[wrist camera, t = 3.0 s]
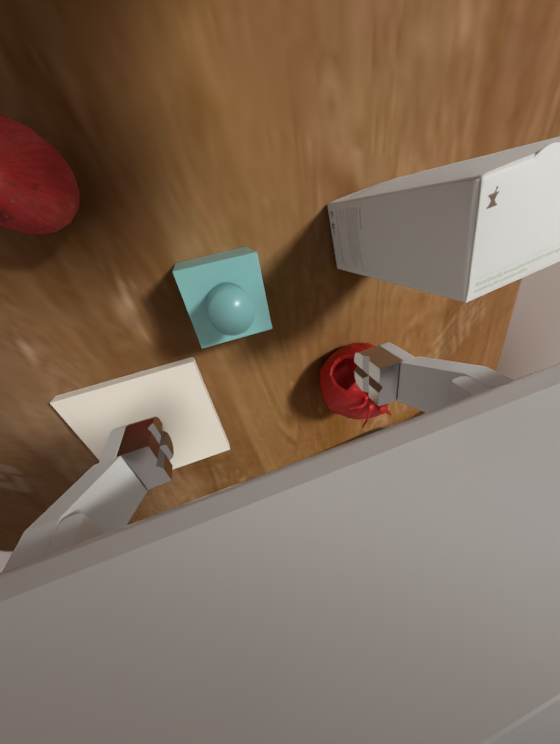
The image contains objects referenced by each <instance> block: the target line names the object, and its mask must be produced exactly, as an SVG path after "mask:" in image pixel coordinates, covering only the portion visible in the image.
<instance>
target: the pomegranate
mask: <svg viewBox="0 0 560 744" xmlns="http://www.w3.org/2000/svg"><path fill="white" fill-rule="evenodd" d="M373 347H376V346H373V345H371V344H368V343H352V344H349V345H346V346H344V347H342V348H340V349H338V350H337V351H335V352H334V353H333V354H331V355H330V356H329V357H328V359H327V360H326V361H325V363H324V364H323V366H322V368H321V370H320V374H319V376H320V389H321V392H322V397H323V400H324V402H325V403H326V405H327V407H328V409H329V410H330V411H332V412H334V413H336V414H339V415H343V416H345V417H348V418H352V419H365V418H367V419H366V421H365V423H364V424H363V427H364V425H365V424H366V423H367V422H368V419H369V418H372V417H375V416H378V415H380V414H384V413H387V414H390V412H389V410H388V407H387V405H388V403H387V404H384V405H381V406H378V405H376V404H375V403H374V402H373V401H372V400H371V399H370V398H369V393H368V392H364V391H362V390H361V389H360V388H359V386H358V385H357V383H356V380H355V374H354V371H355V369H356V367H357V365H356V364H355V363H354V356H355V353H358V352H361V351H364V350H367V349H370V348H373ZM390 415H391V414H390ZM363 427H362V429H363Z"/></svg>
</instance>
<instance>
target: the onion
mask: <svg viewBox="0 0 560 744" xmlns="http://www.w3.org/2000/svg"><path fill="white" fill-rule="evenodd" d="M78 209H79V188H78V185H77V182H76V179H75V177H74V174H73V171H72V169H71V168H70V167H69V165H68V164H67V162H66V161H65V160H64V158H63V157H62V156H61V154H60V153H59V152H58V150H57V149H55V148H54V147H53V146H52V145H50V144H49V143H48V142H47V141H46V140H44V139H43V138H42V137H41V136H39V135H38V134H37V133H36V132H35V131H33V130H32V129H31V128H30V127H28V126H26V125H24V124H21V123H19V122H17V121H15V120H12V119H10V118H8V117H6V116H3V115H0V226H2V227H4V228H7V229H11V230H15V231H19V232H23V233H26V234H31V235H38V234H47V233H55V232H57V231H59V230H60V229H62V228H64V227H65V226H67V225H68V224H70V223H71V222H72V220H73V218H74V216H75V215H76V213H77V211H78Z"/></svg>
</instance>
